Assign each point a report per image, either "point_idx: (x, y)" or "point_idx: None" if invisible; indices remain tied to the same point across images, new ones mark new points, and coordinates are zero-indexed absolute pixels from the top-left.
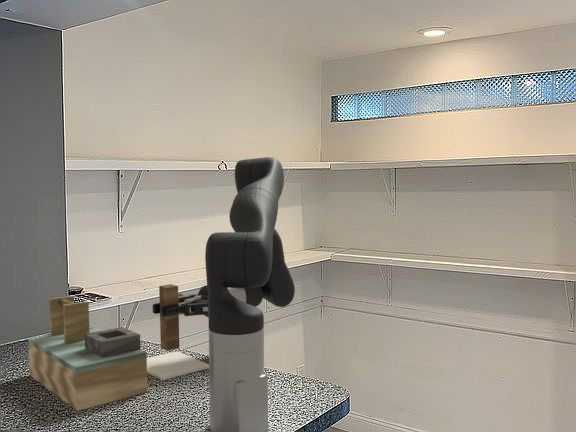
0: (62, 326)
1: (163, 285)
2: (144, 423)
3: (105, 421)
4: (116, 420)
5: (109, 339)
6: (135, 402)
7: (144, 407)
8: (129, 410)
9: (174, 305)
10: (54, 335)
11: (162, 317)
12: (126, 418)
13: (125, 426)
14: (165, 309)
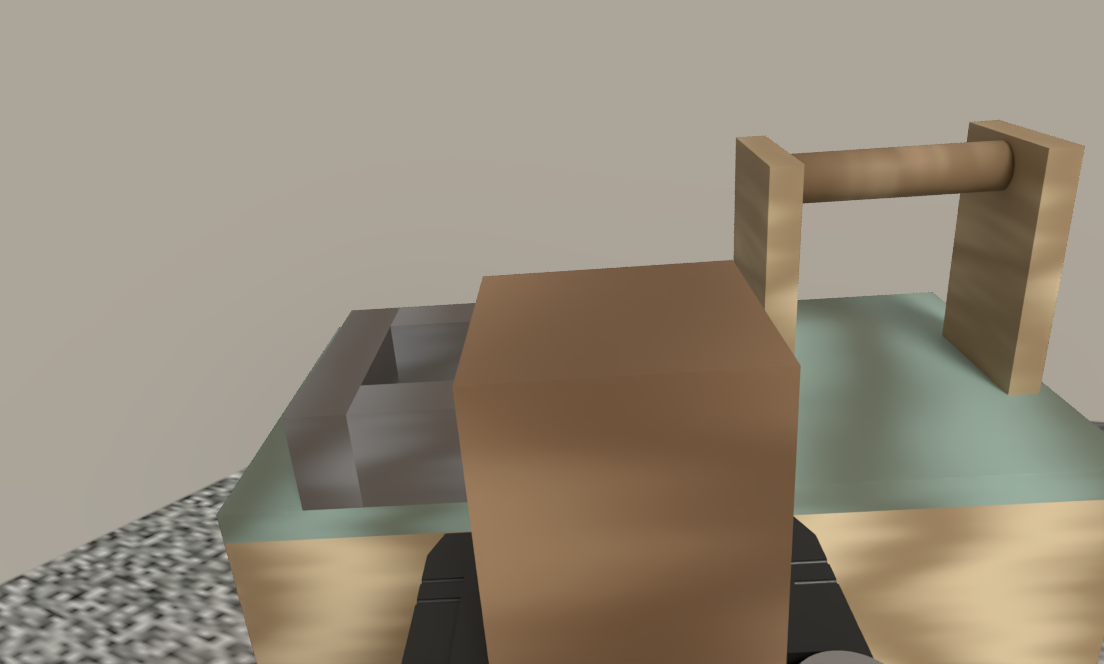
0: (977, 316)
1: (734, 288)
2: (30, 591)
3: (203, 517)
4: (169, 540)
5: (360, 329)
6: (235, 640)
7: (145, 646)
8: (190, 595)
9: (458, 639)
10: (947, 339)
11: None
12: (142, 565)
13: (94, 544)
14: (448, 539)
